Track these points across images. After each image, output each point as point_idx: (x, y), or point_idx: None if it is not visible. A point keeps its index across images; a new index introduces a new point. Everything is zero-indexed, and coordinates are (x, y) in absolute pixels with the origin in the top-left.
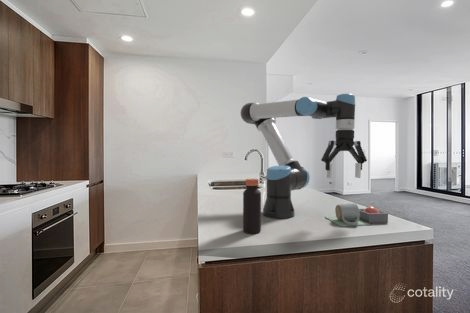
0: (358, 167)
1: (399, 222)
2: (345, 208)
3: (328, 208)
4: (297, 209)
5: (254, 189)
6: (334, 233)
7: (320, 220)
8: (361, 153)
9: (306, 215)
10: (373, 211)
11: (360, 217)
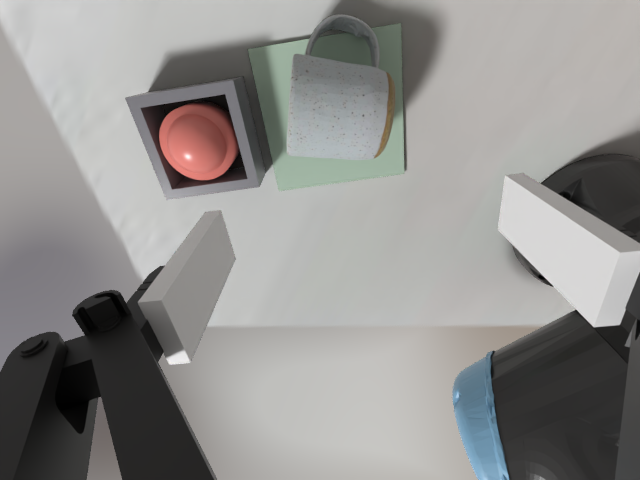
0: (188, 277)
1: (91, 95)
2: (365, 79)
3: (320, 304)
4: (457, 290)
5: None
6: None
7: (446, 127)
8: (12, 464)
9: (467, 205)
10: (193, 117)
11: (255, 140)
